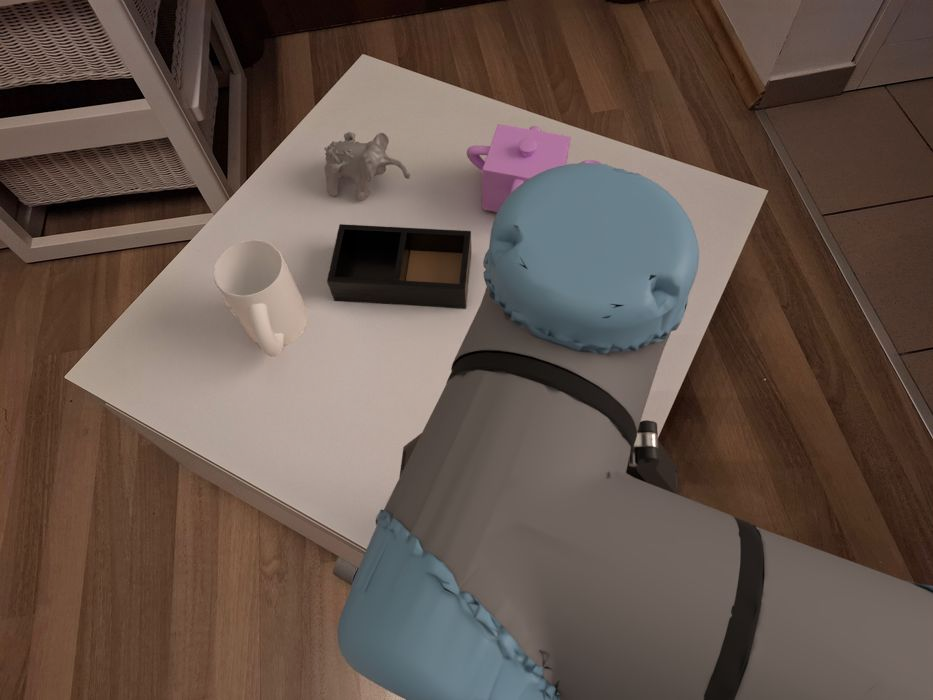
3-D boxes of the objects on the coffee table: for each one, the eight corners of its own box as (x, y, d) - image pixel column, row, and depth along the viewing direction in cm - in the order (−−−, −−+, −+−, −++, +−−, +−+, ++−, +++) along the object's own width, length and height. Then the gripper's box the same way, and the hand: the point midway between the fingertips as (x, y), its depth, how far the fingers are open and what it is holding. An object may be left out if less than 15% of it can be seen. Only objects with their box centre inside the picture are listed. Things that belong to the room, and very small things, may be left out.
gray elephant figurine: (330, 162, 97) (318, 122, 90) (410, 156, 97) (405, 115, 90) (329, 210, 93) (316, 172, 86) (412, 204, 93) (407, 165, 86)
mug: (249, 382, 80) (214, 334, 69) (242, 302, 86) (208, 247, 75) (315, 367, 81) (290, 318, 70) (304, 289, 86) (279, 233, 76)
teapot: (598, 176, 94) (610, 122, 85) (581, 251, 88) (592, 201, 79) (479, 154, 97) (478, 99, 88) (454, 226, 91) (450, 175, 82)
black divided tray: (465, 308, 84) (465, 289, 80) (334, 301, 85) (326, 281, 81) (471, 252, 89) (470, 230, 84) (346, 245, 90) (339, 223, 86)
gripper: (778, 355, 37) (679, 468, 55) (344, 328, 38) (390, 447, 57) (798, 485, 33) (685, 559, 52) (319, 450, 35) (378, 533, 54)
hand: (531, 500), depth 55 cm, fingers open, 13 cm apart
